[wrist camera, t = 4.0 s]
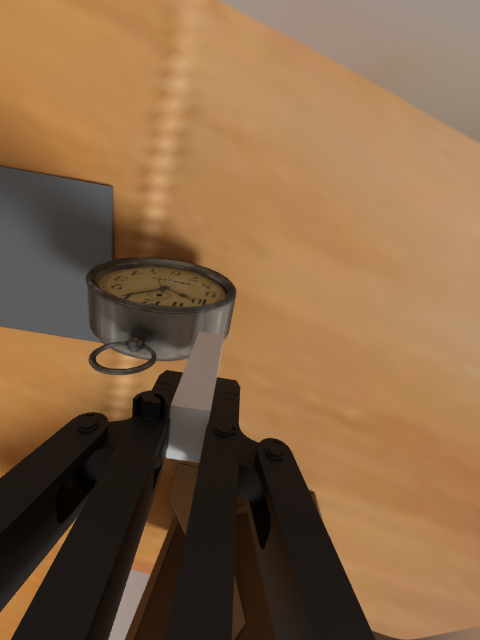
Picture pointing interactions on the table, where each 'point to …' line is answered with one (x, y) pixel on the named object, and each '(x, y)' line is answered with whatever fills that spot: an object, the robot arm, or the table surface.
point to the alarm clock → (155, 308)
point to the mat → (51, 250)
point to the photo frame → (156, 603)
